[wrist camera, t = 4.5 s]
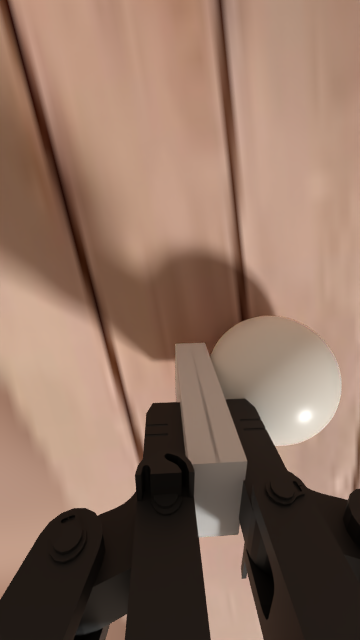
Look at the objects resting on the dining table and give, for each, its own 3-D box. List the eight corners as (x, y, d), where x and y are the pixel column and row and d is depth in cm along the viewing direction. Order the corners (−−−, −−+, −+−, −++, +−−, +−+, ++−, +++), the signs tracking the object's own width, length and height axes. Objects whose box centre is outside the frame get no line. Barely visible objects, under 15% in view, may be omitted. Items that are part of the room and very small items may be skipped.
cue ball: (296, 298, 14) (398, 342, 9) (281, 386, 16) (356, 465, 11) (195, 303, 13) (244, 357, 8) (192, 397, 15) (229, 491, 10)
